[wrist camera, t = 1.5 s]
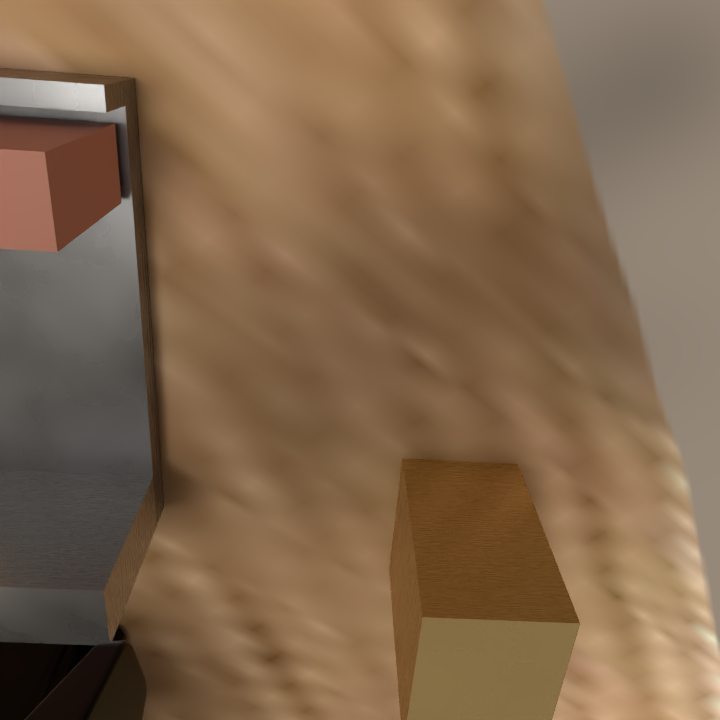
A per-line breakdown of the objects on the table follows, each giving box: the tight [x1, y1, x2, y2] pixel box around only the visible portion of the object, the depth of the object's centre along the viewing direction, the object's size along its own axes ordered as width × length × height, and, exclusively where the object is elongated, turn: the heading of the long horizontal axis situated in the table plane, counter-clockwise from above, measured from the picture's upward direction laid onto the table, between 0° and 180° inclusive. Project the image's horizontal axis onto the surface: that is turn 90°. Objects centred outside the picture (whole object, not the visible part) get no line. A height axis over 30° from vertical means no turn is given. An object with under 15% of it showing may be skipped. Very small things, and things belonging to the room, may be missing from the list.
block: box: [389, 458, 580, 720], centre depth 21 cm, size 5×4×7 cm
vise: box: [0, 68, 164, 645], centre depth 18 cm, size 14×6×6 cm, turn 176°
